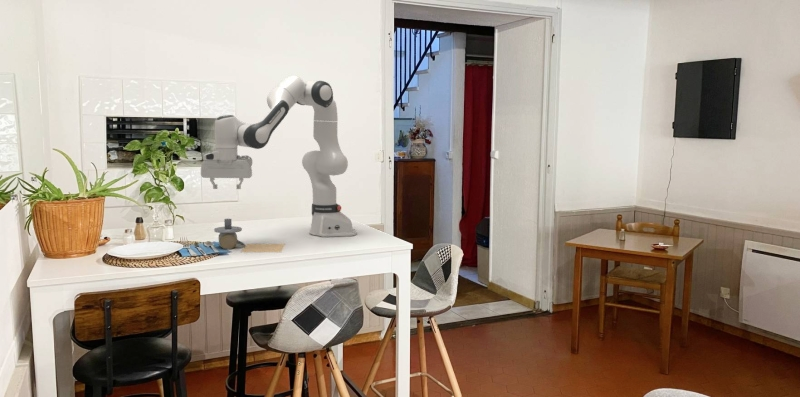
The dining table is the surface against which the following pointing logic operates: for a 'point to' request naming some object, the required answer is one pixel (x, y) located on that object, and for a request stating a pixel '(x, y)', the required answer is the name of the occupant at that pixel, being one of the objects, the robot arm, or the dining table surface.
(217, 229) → the lid
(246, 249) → the mat
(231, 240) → the ceramic mug
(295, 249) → the dining table surface
